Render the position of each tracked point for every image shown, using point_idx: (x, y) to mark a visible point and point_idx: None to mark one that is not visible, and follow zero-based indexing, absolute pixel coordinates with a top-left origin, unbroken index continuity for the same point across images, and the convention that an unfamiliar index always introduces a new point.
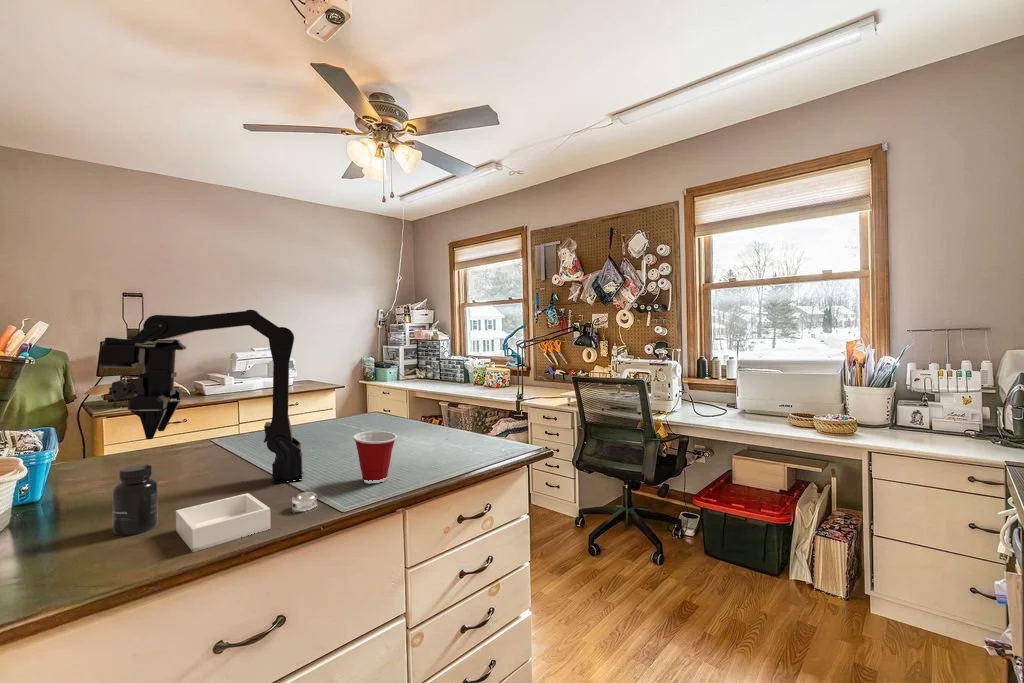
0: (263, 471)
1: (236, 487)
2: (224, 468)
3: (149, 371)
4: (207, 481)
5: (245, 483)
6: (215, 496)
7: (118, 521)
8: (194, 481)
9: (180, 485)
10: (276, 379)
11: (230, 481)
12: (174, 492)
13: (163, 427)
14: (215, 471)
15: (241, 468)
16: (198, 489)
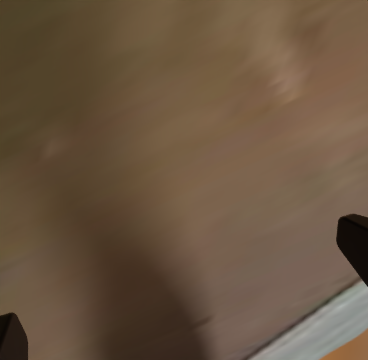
0: (281, 330)
1: (151, 330)
2: None
3: None
4: (240, 228)
5: (183, 335)
6: (78, 316)
7: None
8: (254, 189)
9: (225, 165)
10: None
11: (216, 290)
12: (152, 181)
13: (357, 260)
14: (338, 204)
15: (336, 263)
16: (163, 239)
